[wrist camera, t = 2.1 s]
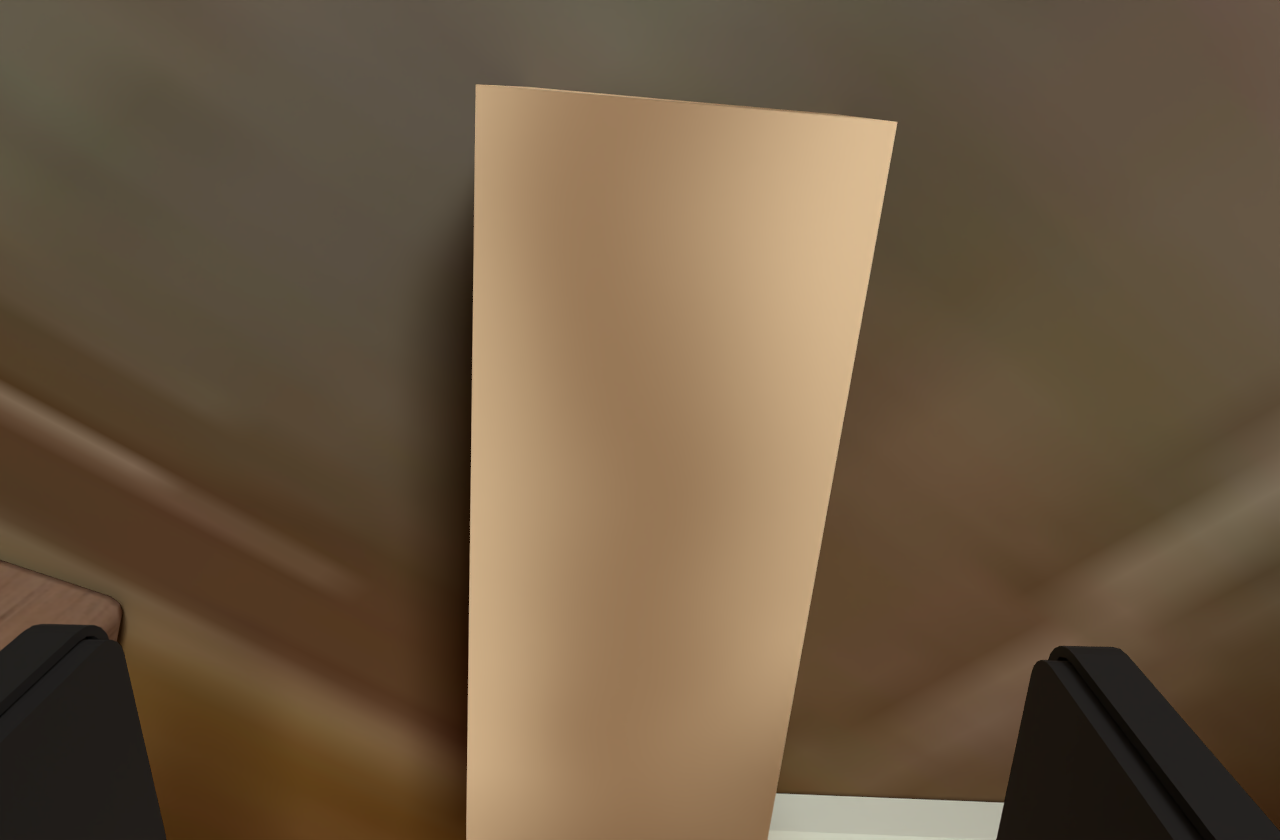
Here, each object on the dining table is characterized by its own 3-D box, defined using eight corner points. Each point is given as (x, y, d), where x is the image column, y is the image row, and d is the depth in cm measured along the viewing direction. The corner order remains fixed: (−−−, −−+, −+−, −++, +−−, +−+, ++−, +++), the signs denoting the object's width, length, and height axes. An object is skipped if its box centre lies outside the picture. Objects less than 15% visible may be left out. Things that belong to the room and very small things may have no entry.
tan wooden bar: (836, 114, 14) (897, 121, 10) (743, 712, 18) (761, 873, 14) (528, 87, 14) (475, 84, 10) (508, 691, 18) (465, 846, 14)
